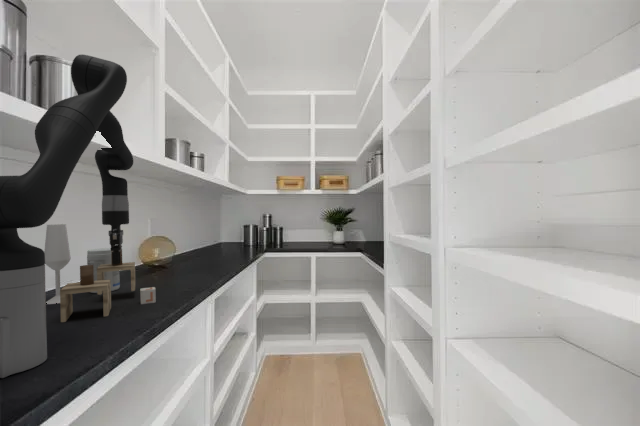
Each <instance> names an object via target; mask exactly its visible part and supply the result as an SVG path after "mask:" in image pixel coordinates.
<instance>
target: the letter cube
mask: <svg viewBox="0 0 640 426" xmlns="http://www.w3.org/2000/svg"><path fill="white" fill-rule="evenodd" d="M139 291H140V292H139V293H140V294H139V295H140V305H146V304H154V303H157V302H156V301H157V300H156V299H157V296H156V287H155V286H152V287H142V288H140V290H139Z"/></svg>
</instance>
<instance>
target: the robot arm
mask: <svg viewBox="0 0 640 426" xmlns="http://www.w3.org/2000/svg"><path fill="white" fill-rule="evenodd" d="M70 77H71V81H72V84H73V87H74V90H75V91H76V93H77V95H74V96H70V97H67V98H65V99H64V98H63V99H61V100H60V101H57V102H55V103H54V104H52V105H51V106H50V107H49V108H48V109H47V110H46V112H45V113H44V114H43V116H42V117H40V118H39V121H37V124H36V126H35V129H34V138H35V143H36V145H37V148H38V152H39V156H38V158H37V160H36V161H35V163H34V164H33V165H32V166H31V168H30V169H29V170H28V171H27V172H25V173H23V174H21V175H0V379H4V378H7V377H8V376H10V375H15V374H19V373H21V372H24V371H27V370H31V369H33V368H36V367H37V366H39V365H42V364H43V363H45V361H47V359H48V343H47V342H48V341H47V339H48V338H47V337H48V335H47V304H46V302H47V299H46V295H47V294H46V293H47V292H46V264H45V254H44V251H45V250H43V249H42V248H40V247H38V246H35V245H32V244H29V243H28V242H26V241H24V240H23V239H21V238H20V236H19V233H18V229H28V228H29V229H32V228H37V227H40V226H42V225H44V224H47V222H48V221H49V220H50V219H51V218H52V216H54V214H55V212H56V209H57V208H58V205H59V203H60V202H61V198H62V197H63V194H64V192H65V189H66V187H67V185H68V183H69V180H70V177H71V176H72V173H73V171H74V170H75V168H76V166H77V164H78V163H79V161H80V159H81V157H82V156H83V154H84V152H86V149H88V147H89V145H90V144H91V142H92V140H93V139H94V137H95V136H96V135H95V133H96V131H99V132H101V135H102V136H103V137H104V138H105V139H106V141H107V142H108V143H109V144H110V145H111V147H112V148H101V149H102V150H98V149H97V150H96V152H94V153H95V154H94V159H95V160H94V161H95V163H96V166H97V169H98V171H99V175H100V179H101V187H102V190H101V191H102V198H101V224H102V225H103V226H110V227H111V228H110V230H108V236H109V245H110V248H111V251H112V263H113V264H120V251H121V249H122V250H123V248H122V247H123V244H124V243H123V242H124V239H123V236H124V229H121V225H129V223H130V209H129V208H130V207H129V206H130V204H129V198H128V197H129V196H128V195H129V194H128V181H127V179H126V178H123V177H120V176H116V175H115V176H114V175H112V174H111V173H110V171H128V170H130V169H131V168H133V165H134V157H133V154H132V152H131V150H130V148H129V147H128V145H127V144H126V142H125V139H124V134H123V128H122V126H121V123H120V121H119V120H118V118H117V117H116V116H115V115H114V113H113V112H111V109H112V108H113V107H114V106H115V105H116V104H117V103H118V101H119V100H120V99H121V97H122V96H123V95H124V92H125V90H126V87H127V82H128V75H127V72H126V70H125V68H124V66H122V65H121V64H118V63H116V62H114V61H111V60H107V59H104V58H100V57H96V56H91V55H88V54H78V55H76V56H75V57H74V58H73V60H72V62H71V67H70Z"/></svg>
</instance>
